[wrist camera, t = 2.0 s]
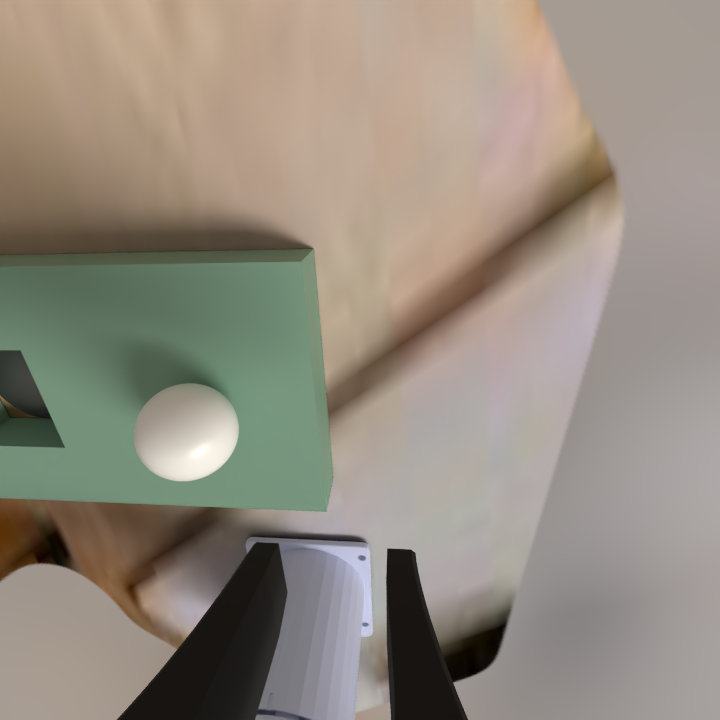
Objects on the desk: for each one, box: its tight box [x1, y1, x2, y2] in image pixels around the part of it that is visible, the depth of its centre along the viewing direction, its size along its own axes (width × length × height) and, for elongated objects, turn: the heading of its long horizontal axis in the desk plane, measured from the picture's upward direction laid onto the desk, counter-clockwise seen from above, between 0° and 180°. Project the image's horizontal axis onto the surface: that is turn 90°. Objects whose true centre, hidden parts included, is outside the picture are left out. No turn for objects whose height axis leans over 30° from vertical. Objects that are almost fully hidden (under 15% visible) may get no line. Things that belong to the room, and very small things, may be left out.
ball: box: [133, 383, 239, 481], centre depth 16 cm, size 4×4×4 cm
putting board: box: [0, 249, 333, 512], centre depth 20 cm, size 13×22×2 cm, turn 92°
